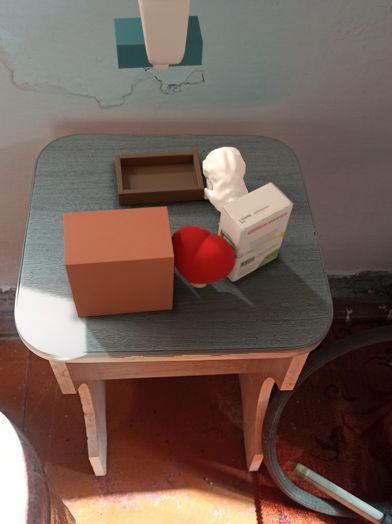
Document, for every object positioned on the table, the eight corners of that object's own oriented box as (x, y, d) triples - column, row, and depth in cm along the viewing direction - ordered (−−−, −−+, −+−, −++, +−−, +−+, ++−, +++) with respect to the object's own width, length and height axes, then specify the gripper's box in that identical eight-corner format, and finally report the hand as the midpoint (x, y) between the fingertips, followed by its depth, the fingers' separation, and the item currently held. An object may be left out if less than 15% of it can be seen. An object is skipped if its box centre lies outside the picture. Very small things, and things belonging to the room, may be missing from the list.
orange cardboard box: (78, 317, 77) (64, 265, 66) (76, 269, 81) (63, 212, 70) (172, 309, 78) (174, 257, 68) (166, 262, 82) (167, 206, 71)
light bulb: (238, 279, 81) (247, 235, 72) (216, 315, 78) (223, 273, 69) (182, 253, 83) (184, 206, 74) (158, 287, 80) (157, 243, 71)
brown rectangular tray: (119, 205, 87) (118, 194, 84) (115, 166, 90) (114, 154, 88) (203, 199, 88) (204, 188, 86) (196, 161, 92) (197, 150, 89)
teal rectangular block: (118, 68, 67) (116, 45, 64) (115, 42, 69) (113, 18, 66) (201, 65, 68) (203, 41, 65) (196, 39, 70) (197, 15, 67)
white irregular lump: (244, 137, 82) (265, 204, 78) (235, 176, 90) (255, 238, 86) (202, 142, 81) (221, 211, 77) (197, 181, 89) (215, 245, 85)
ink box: (258, 235, 85) (271, 179, 75) (278, 258, 84) (295, 203, 73) (212, 260, 83) (220, 204, 72) (232, 283, 81) (243, 230, 70)
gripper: (117, -134, 60) (125, -2, 72) (131, -21, 51) (138, 107, 63) (176, -134, 61) (174, -4, 73) (200, -23, 51) (194, 105, 64)
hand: (157, 49), depth 68 cm, fingers closed on teal rectangular block, 5 cm apart
